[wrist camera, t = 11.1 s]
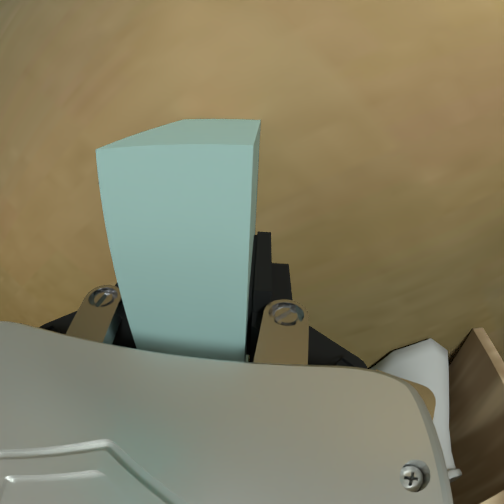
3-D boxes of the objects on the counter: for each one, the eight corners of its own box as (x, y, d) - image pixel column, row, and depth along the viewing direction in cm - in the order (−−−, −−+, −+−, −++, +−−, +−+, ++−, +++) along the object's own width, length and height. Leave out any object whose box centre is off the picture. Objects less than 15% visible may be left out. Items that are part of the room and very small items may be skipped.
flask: (377, 405, 21) (396, 506, 12) (346, 370, 19) (366, 504, 10) (451, 368, 19) (488, 466, 10) (438, 321, 16) (495, 449, 7)
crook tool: (411, 141, 11) (519, 193, 5) (324, 416, 22) (330, 487, 16) (183, 119, 11) (95, 149, 5) (207, 412, 22) (196, 484, 16)
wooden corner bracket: (482, 327, 16) (550, 474, 4) (409, 425, 24) (430, 533, 12) (356, 334, 17) (399, 558, 5) (311, 436, 24) (315, 560, 12)
